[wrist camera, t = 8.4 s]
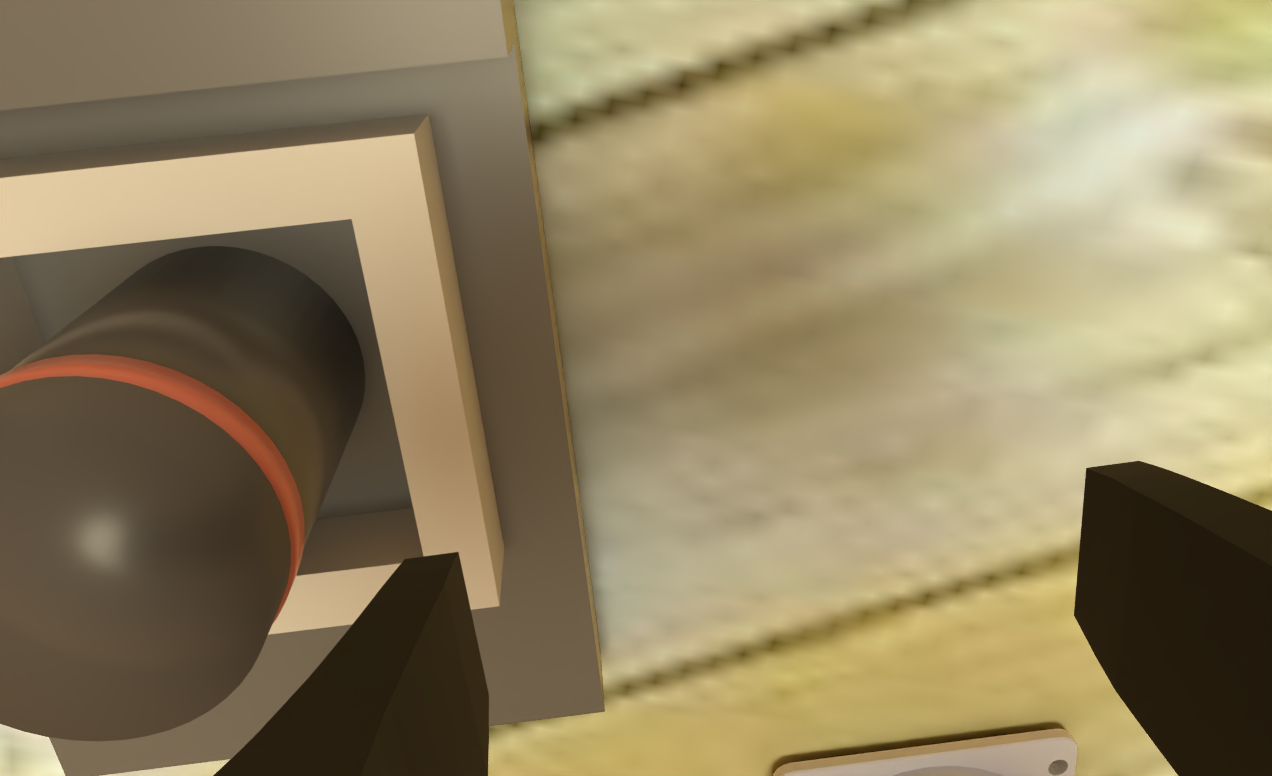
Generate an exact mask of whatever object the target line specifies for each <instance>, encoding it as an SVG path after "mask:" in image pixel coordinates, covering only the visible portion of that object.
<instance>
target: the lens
mask: <svg viewBox="0 0 1272 776" xmlns="http://www.w3.org/2000/svg"><path fill="white" fill-rule="evenodd" d="M364 391H365V370H364V362H363V357H362V353H361V349H360V345H359V342H358V340H357V338H356V335H355V333H354V330H353V328H352V326H351V325H350V323H349V321H348V320H347V318H346V316H345V314H344V313H343V312H342V310H341V309H340V308H339V306H338V305H337V304H336V302H335V301H334V300H333V299H332V298H331V297H330V296H329V295H328V294H327V293H326V292H325V291H324V290H323V289H322V288H321V287H320V286H319V285H318V284H317V283H315V282H314V281H313V280H312V279H310V278H309V277H308V276H307V275H305V274H303V273H302V272H300V271H299V270H297V269H295V268H294V267H292V266H290V265H288V264H286V263H284V262H282V261H280V260H278V259H276V258H273V257H271V256H268V255H265V254H262V253H259V252H256V251H251V250H247V249H242V248H236V247H225V246H202V247H195V248H189V249H183V250H180V251H177V252H173V253H170V254H167V255H165V256H162V257H160V258H158V259H156V260H154V261H152V262H150V263H149V264H147V265H145V266H144V267H142V268H141V269H139V270H138V271H136V272H135V273H134V274H133V275H131V276H130V277H129V278H127V279H126V280H125V281H124V282H122V283H121V284H120V285H119V286H117V287H116V288H115V289H113V290H112V291H111V292H110V293H108V294H107V295H106V296H104V297H103V298H102V299H101V300H99V301H98V302H97V303H95V304H94V305H93V306H92V307H90V308H89V309H88V310H87V311H85V312H84V313H83V314H81V315H80V316H79V317H78V318H76V319H75V320H74V321H72V322H71V323H70V324H69V325H67V326H66V327H65V328H63V329H62V330H61V331H60V332H58V333H57V334H56V335H55V336H53V337H52V338H51V339H49V340H48V341H47V342H46V343H44V344H43V345H42V346H40V347H39V348H38V349H37V350H35V351H34V352H33V353H31V354H30V355H29V356H28V357H26V358H25V359H24V360H23V361H21V362H20V363H19V364H17V365H16V366H15V367H14V368H12V369H11V370H10V371H8V372H7V373H4V374H2V375H0V724H3V725H6V726H9V727H12V728H15V729H18V730H21V731H25V732H29V733H33V734H38V735H42V736H46V737H52V738H59V739H67V740H75V741H116V740H127V739H133V738H139V737H146V736H150V735H154V734H157V733H161V732H164V731H168V730H171V729H173V728H176V727H178V726H181V725H183V724H186V723H188V722H191V721H192V720H194V719H196V718H198V717H200V716H201V715H203V714H205V713H207V712H209V711H210V710H211V709H213V708H214V707H216V706H217V705H218V704H220V703H221V702H222V701H224V700H225V699H226V698H227V697H228V696H229V695H230V694H231V693H232V692H233V691H234V690H235V689H236V688H237V687H238V686H239V685H240V684H241V683H242V682H243V680H244V679H245V677H246V676H247V675H248V673H249V672H250V671H251V669H252V668H253V666H254V664H255V662H256V660H257V658H258V656H259V654H260V652H261V650H262V648H263V645H264V643H265V641H266V638H267V636H268V633H269V631H270V629H271V626H272V624H273V623H274V622H275V620H276V619H277V617H278V615H279V613H280V612H281V610H282V608H283V606H284V604H285V602H286V600H287V597H288V595H289V592H290V590H291V587H292V585H293V582H294V580H295V577H296V575H297V572H298V569H299V565H300V562H301V559H302V554H303V549H304V546H305V544H306V542H307V539H308V537H309V534H310V532H311V529H312V527H313V525H314V522H315V520H316V517H317V515H318V513H319V510H320V508H321V505H322V503H323V500H324V498H325V496H326V493H327V491H328V488H329V486H330V483H331V481H332V479H333V476H334V474H335V471H336V469H337V467H338V464H339V462H340V459H341V457H342V454H343V452H344V450H345V447H346V445H347V442H348V440H349V438H350V435H351V433H352V430H353V428H354V425H355V423H356V421H357V418H358V415H359V412H360V409H361V406H362V402H363V396H364Z"/></svg>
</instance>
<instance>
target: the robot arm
mask: <svg viewBox="0 0 1272 776" xmlns="http://www.w3.org/2000/svg"><path fill="white" fill-rule="evenodd" d="M1074 616H1075V618H1076V620H1077V622H1078V624H1079V625H1080V627H1081V629H1082V631H1083V633H1084V635H1085V637H1086V639H1087V641H1088V642H1089V644H1090V646H1091V648H1092V650H1093V652H1094V654H1095V656H1096V658H1097V659H1098V661H1099V663H1100V664H1101V666H1102V668H1103V670H1104V671H1105V673H1106V675H1107V677H1108V678H1109V680H1110V682H1111V684H1112V685H1113V687H1114V689H1115V690H1116V692H1117V693H1118V695H1119V696H1120V697H1121V699H1122V700H1123V702H1124V703H1125V704H1126V706H1127V707H1128V709H1129V710H1130V711H1131V713H1132V714H1133V715H1134V717H1135V718H1136V719H1137V721H1138V722H1139V723H1140V725H1141V726H1142V727H1143V729H1144V730H1145V732H1146V733H1147V734H1148V736H1149V737H1150V738H1151V740H1152V741H1153V742H1154V744H1155V745H1156V746H1157V748H1158V749H1159V750H1160V752H1161V753H1162V754H1163V756H1164V757H1165V758H1166V760H1167V761H1168V762H1169V764H1170V765H1171V766H1172V768H1173V769H1174V770H1175V772H1176V773H1177V774H1178V776H1272V511H1271V510H1268V509H1266V508H1263V507H1261V506H1258V505H1256V504H1253V503H1251V502H1248V501H1246V500H1243V499H1241V498H1239V497H1236V496H1234V495H1231V494H1229V493H1226V492H1224V491H1221V490H1219V489H1216V488H1214V487H1211V486H1209V485H1206V484H1204V483H1201V482H1199V481H1196V480H1193V479H1191V478H1188V477H1186V476H1183V475H1180V474H1177V473H1175V472H1172V471H1169V470H1166V469H1163V468H1160V467H1157V466H1154V465H1151V464H1147V463H1144V462H1141V461H1135V462H1128V463H1120V464H1113V465H1105V466H1098V467H1090V468H1086V479H1085V491H1084V503H1083V515H1082V527H1081V539H1080V551H1079V563H1078V574H1077V586H1076V598H1075V610H1074ZM488 746H489V693H488V688H487V683H486V679H485V674H484V669H483V665H482V660H481V655H480V651H479V646H478V641H477V636H476V632H475V627H474V622H473V618H472V613H471V608H470V604H469V599H468V594H467V590H466V585H465V580H464V576H463V571H462V566H461V562H460V557H459V552H453V553H446V554H438V555H431V556H423V557H416V558H408V559H404V560H403V562H402V563H401V564H400V565H399V567H398V568H397V569H396V570H395V571H394V573H393V574H392V575H391V576H390V577H389V579H388V580H387V581H386V582H385V584H384V585H383V586H382V587H381V589H380V590H379V591H378V592H377V594H376V595H375V596H374V598H373V599H372V600H371V601H370V603H369V604H368V605H367V607H366V608H365V609H364V610H363V612H362V613H361V614H360V615H359V617H358V618H357V619H356V620H355V622H354V623H353V624H352V626H351V627H350V628H349V629H348V631H347V632H346V633H345V634H344V636H343V637H342V638H341V639H340V640H339V642H338V643H337V644H336V645H335V646H334V648H333V649H332V650H331V651H330V652H329V654H328V655H327V656H326V657H325V658H324V660H323V661H322V662H321V663H320V664H319V666H318V667H317V668H316V669H315V670H314V672H313V673H312V674H311V675H310V676H309V678H308V679H307V680H306V681H305V682H304V683H303V684H302V685H301V686H300V687H299V689H298V690H297V691H296V692H295V693H294V694H293V695H292V696H291V697H290V698H289V699H288V700H287V702H286V703H285V704H284V705H283V706H282V707H281V708H280V709H279V710H278V711H277V712H276V714H275V715H274V716H273V717H272V718H271V719H270V720H269V721H268V722H267V723H266V724H265V725H264V727H263V728H262V729H261V730H260V731H259V732H258V733H257V734H256V735H255V736H254V737H253V738H252V739H251V740H250V741H249V742H248V743H247V744H246V745H245V746H244V747H243V748H242V749H241V750H240V751H239V752H238V753H237V754H236V755H235V756H234V757H233V758H232V759H231V760H230V761H229V762H228V763H226V764H225V765H224V766H223V767H222V768H221V769H220V770H219V771H218V772H217V773H216V774H215V775H214V776H488ZM1077 750H1078V749H1077V743H1076V742H1075V740H1074V739H1073V737H1072V736H1071V734H1070V733H1069V732H1068V731H1066V730H1064V729H1048V730H1041V731H1033V732H1025V733H1017V734H1009V735H1002V736H994V737H986V738H978V739H971V740H963V741H955V742H947V743H940V744H932V745H924V746H916V747H909V748H901V749H893V750H885V751H878V752H870V753H862V754H854V755H847V756H839V757H831V758H823V759H815V760H808V761H800V762H792V763H788V764H784V765H782V766H781V767H779V768H778V769H777V770H776V771H775V772H774V774H773V776H1075V768H1076V759H1077ZM1057 760H1058V761H1057ZM1054 761H1057V762H1055V763H1053V762H1054ZM1051 763H1052V764H1051Z"/></svg>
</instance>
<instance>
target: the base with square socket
mask: <svg viewBox="0 0 1272 776" xmlns="http://www.w3.org/2000/svg"><path fill="white" fill-rule="evenodd" d="M202 246H225V247H236V248H242V249H247V250H251V251H256V252H259V253H262V254H265V255H268V256H271V257H273V258H276V259H278V260H280V261H282V262H284V263H286V264H288V265H290V266H292V267H294V268H295V269H297V270H299V271H300V272H302V273H303V274H305V275H307V276H308V277H309V278H310V279H312V280H313V281H314V282H315V283H317V284H318V285H319V286H320V287H321V288H322V289H323V290H324V291H325V292H326V293H327V294H328V295H329V296H330V297H331V298H332V299H333V300H334V301H335V302H336V304H337V305H338V306H339V308H340V309H341V310H342V312H343V313H344V314H345V316H346V318H347V320H348V321H349V323H350V325H351V326H352V328H353V330H354V333H355V335H356V338H357V340H358V342H359V345H360V349H361V353H362V357H363V362H364V370H365V391H364V396H363V402H362V406H361V409H360V412H359V415H358V418H357V421H356V423H355V425H354V428H353V430H352V433H351V435H350V438H349V440H348V442H347V445H346V447H345V450H344V452H343V454H342V457H341V459H340V462H339V464H338V467H337V469H336V471H335V474H334V476H333V479H332V481H331V483H330V486H329V488H328V491H327V493H326V496H325V498H324V500H323V503H322V505H321V508H320V510H319V513H318V515H317V517H316V520H315V522H314V525H313V527H312V529H311V532H310V534H309V537H308V539H307V542H306V544H305V546H304V549H303V554H302V559H301V562H300V565H299V569H298V572H297V575H296V577H295V580H294V582H293V585H292V587H291V590H290V592H289V595H288V597H287V600H286V602H285V604H284V606H283V608H282V610H281V612H280V613H279V615H278V617H277V619H276V620H275V622H274V623H273V624H272V626H271V629H270V631H269V633H268V636H267V638H266V641H265V643H264V645H263V648H262V650H261V652H260V654H259V656H258V658H257V660H256V662H255V664H254V666H253V668H252V669H251V671H250V672H249V673H248V675H247V676H246V677H245V679H244V680H243V682H242V683H241V684H240V685H239V686H238V687H237V688H236V689H235V690H234V691H233V692H232V693H231V694H230V695H229V696H228V697H227V698H226V699H225V700H224V701H222V702H221V703H220V704H218V705H217V706H216V707H214V708H213V709H211V710H210V711H209V712H207V713H205V714H203V715H201V716H200V717H198V718H196V719H194V720H192V721H191V722H188V723H186V724H183V725H181V726H178V727H176V728H173V729H171V730H168V731H164V732H161V733H157V734H154V735H150V736H146V737H139V738H133V739H127V740H116V741H75V740H67V739H59V738H52V737H49V738H50V740H51V743H52V745H53V747H54V750H55V752H56V754H57V757H58V759H59V761H60V763H61V766H62V768H63V770H64V773H65V775H66V776H99V775H107V774H115V773H123V772H131V771H139V770H147V769H155V768H163V767H171V766H178V765H186V764H194V763H202V762H210V761H218V760H226V759H232V758H233V757H234V756H235V755H236V754H237V753H238V752H239V751H240V750H241V749H242V748H243V747H244V746H245V745H246V744H247V743H248V742H249V741H250V740H251V739H252V738H253V737H254V736H255V735H256V734H257V733H258V732H259V731H260V730H261V729H262V728H263V727H264V725H265V724H266V723H267V722H268V721H269V720H270V719H271V718H272V717H273V716H274V715H275V714H276V712H277V711H278V710H279V709H280V708H281V707H282V706H283V705H284V704H285V703H286V702H287V700H288V699H289V698H290V697H291V696H292V695H293V694H294V693H295V692H296V691H297V690H298V689H299V687H300V686H301V685H302V684H303V683H304V682H305V681H306V680H307V679H308V678H309V676H310V675H311V674H312V673H313V672H314V670H315V669H316V668H317V667H318V666H319V664H320V663H321V662H322V661H323V660H324V658H325V657H326V656H327V655H328V654H329V652H330V651H331V650H332V649H333V648H334V646H335V645H336V644H337V643H338V642H339V640H340V639H341V638H342V637H343V636H344V634H345V633H346V632H347V631H348V629H349V628H350V627H351V626H352V624H353V623H354V622H355V620H356V619H357V618H358V617H359V615H360V614H361V613H362V612H363V610H364V609H365V608H366V607H367V605H368V604H369V603H370V601H371V600H372V599H373V598H374V596H375V595H376V594H377V592H378V591H379V590H380V589H381V587H382V586H383V585H384V584H385V582H386V581H387V580H388V579H389V577H390V576H391V575H392V574H393V573H394V571H395V570H396V569H397V568H398V567H399V565H400V564H401V563H402V562H403V560H404V559H408V558H416V557H423V556H431V555H438V554H446V553H453V552H459V557H460V562H461V566H462V571H463V576H464V580H465V585H466V590H467V594H468V599H469V604H470V608H471V613H472V618H473V622H474V627H475V632H476V636H477V641H478V646H479V651H480V655H481V660H482V665H483V669H484V674H485V679H486V683H487V688H488V693H489V726H495V725H502V724H510V723H518V722H526V721H534V720H542V719H550V718H558V717H566V716H574V715H582V714H589V713H597V712H605V708H604V693H603V678H602V664H601V652H600V644H599V637H598V629H597V622H596V614H595V607H594V599H593V592H592V584H591V577H590V570H589V562H588V555H587V547H586V540H585V532H584V525H583V517H582V510H581V502H580V495H579V487H578V480H577V473H576V465H575V458H574V450H573V443H572V435H571V428H570V420H569V413H568V405H567V398H566V390H565V383H564V376H563V368H562V361H561V353H560V346H559V338H558V331H557V323H556V316H555V308H554V301H553V293H552V286H551V279H550V271H549V264H548V256H547V249H546V241H545V234H544V226H543V219H542V211H541V204H540V196H539V189H538V182H537V174H536V167H535V159H534V152H533V144H532V137H531V129H530V122H529V114H528V107H527V99H526V92H525V84H524V77H523V70H522V62H521V55H520V47H519V40H518V32H517V25H516V17H515V10H514V2H513V0H0V375H2V374H4V373H7V372H8V371H10V370H11V369H12V368H14V367H15V366H16V365H17V364H19V363H20V362H21V361H23V360H24V359H25V358H26V357H28V356H29V355H30V354H31V353H33V352H34V351H35V350H37V349H38V348H39V347H40V346H42V345H43V344H44V343H46V342H47V341H48V340H49V339H51V338H52V337H53V336H55V335H56V334H57V333H58V332H60V331H61V330H62V329H63V328H65V327H66V326H67V325H69V324H70V323H71V322H72V321H74V320H75V319H76V318H78V317H79V316H80V315H81V314H83V313H84V312H85V311H87V310H88V309H89V308H90V307H92V306H93V305H94V304H95V303H97V302H98V301H99V300H101V299H102V298H103V297H104V296H106V295H107V294H108V293H110V292H111V291H112V290H113V289H115V288H116V287H117V286H119V285H120V284H121V283H122V282H124V281H125V280H126V279H127V278H129V277H130V276H131V275H133V274H134V273H135V272H136V271H138V270H139V269H141V268H142V267H144V266H145V265H147V264H149V263H150V262H152V261H154V260H156V259H158V258H160V257H162V256H165V255H167V254H170V253H173V252H177V251H180V250H183V249H189V248H195V247H202Z"/></svg>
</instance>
